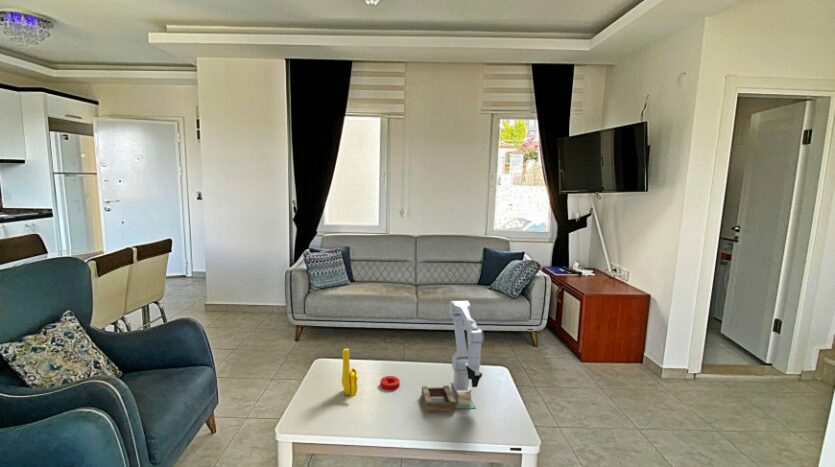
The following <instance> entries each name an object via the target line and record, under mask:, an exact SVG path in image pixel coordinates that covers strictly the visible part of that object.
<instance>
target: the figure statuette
mask: <svg viewBox="0 0 835 467" xmlns="http://www.w3.org/2000/svg"><path fill="white" fill-rule="evenodd" d="M350 365H351V364H350V349H349V348H343V350H342V374H341V375H342V376H341V384H342V387H343V390H344V396H351V397H352V396H356V395H357V392H358V378H359V376H358V373H357V370H356V369H355V368H351V369H350Z"/></svg>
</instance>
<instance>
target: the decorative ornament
mask: <svg viewBox="0 0 835 467" xmlns="http://www.w3.org/2000/svg"><path fill="white" fill-rule="evenodd" d="M379 382H380V388H381V389H383V390H385V391H396V390H397V389H399V388H400V385H401V384H400V382H401V381H400V378H399V377H397V376H394V375H386V376H384V377H382V378H381V379H380V381H379Z"/></svg>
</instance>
